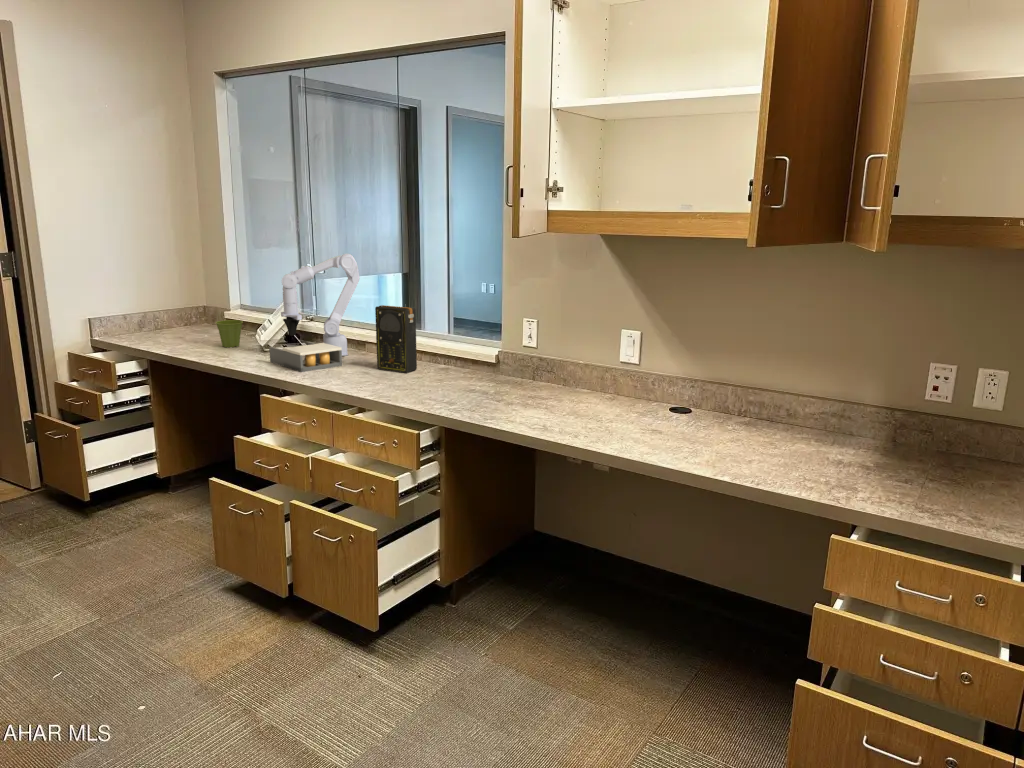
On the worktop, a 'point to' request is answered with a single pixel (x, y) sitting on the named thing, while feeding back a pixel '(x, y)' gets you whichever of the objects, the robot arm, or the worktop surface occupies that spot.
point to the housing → (297, 361)
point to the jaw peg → (324, 358)
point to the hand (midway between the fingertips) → (292, 335)
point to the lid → (312, 349)
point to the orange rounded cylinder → (310, 360)
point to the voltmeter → (396, 338)
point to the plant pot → (229, 332)
